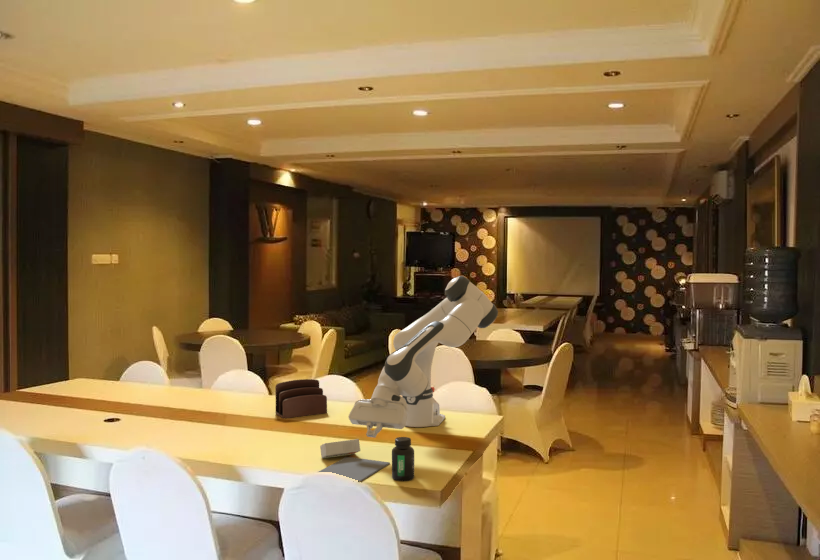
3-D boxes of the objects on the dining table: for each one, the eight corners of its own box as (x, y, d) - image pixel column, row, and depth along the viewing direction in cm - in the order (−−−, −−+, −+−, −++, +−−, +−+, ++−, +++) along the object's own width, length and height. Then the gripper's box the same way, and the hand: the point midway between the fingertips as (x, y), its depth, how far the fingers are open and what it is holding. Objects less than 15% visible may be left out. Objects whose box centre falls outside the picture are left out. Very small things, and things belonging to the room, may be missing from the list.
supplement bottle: (403, 483, 207) (403, 443, 207) (387, 478, 212) (387, 439, 211) (419, 477, 212) (418, 438, 212) (402, 472, 217) (402, 434, 216)
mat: (346, 458, 233) (346, 456, 233) (389, 463, 226) (389, 462, 226) (314, 475, 215) (314, 473, 215) (359, 482, 208) (359, 480, 208)
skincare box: (355, 454, 238) (321, 458, 233) (353, 441, 239) (319, 445, 234) (360, 451, 233) (326, 455, 228) (359, 438, 234) (324, 442, 229)
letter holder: (275, 414, 298) (274, 381, 297) (318, 409, 307) (318, 377, 307) (282, 419, 289) (282, 385, 288) (327, 413, 299) (327, 380, 298)
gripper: (353, 393, 241) (339, 428, 232) (407, 398, 232) (395, 434, 224) (360, 403, 245) (346, 438, 236) (413, 408, 237) (401, 444, 228)
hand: (370, 436), depth 230 cm, fingers closed
